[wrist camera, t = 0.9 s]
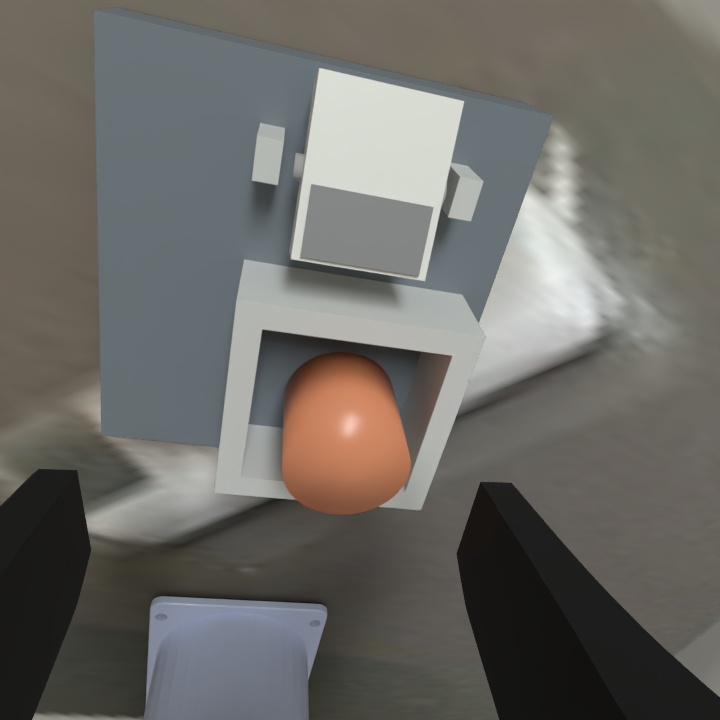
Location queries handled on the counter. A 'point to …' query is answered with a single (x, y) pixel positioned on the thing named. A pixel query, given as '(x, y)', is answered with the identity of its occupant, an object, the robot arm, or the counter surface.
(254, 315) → the breaker panel
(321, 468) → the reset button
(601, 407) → the counter surface
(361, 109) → the rocker
